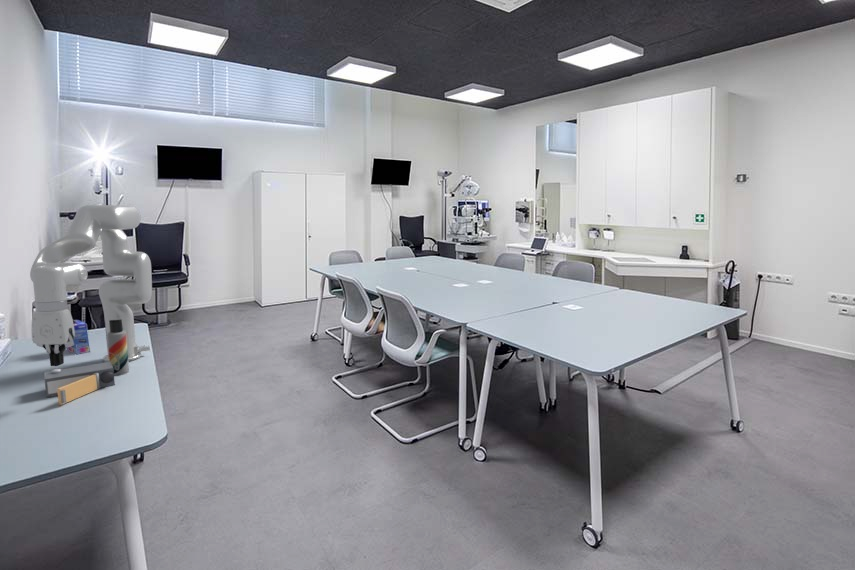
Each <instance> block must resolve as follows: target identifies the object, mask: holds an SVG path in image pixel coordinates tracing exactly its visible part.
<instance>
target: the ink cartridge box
mask: <svg viewBox="0 0 855 570" xmlns="http://www.w3.org/2000/svg"><path fill="white" fill-rule="evenodd" d="M72 320H73V324H74V331H75V339H74V340H73V342H74V346H71V347H67V348H66V350H67V351H68V352H70V353H72V354H74V355H75V354H76V355H81V354H85V352H86V353H89V352H91V347H90V346H91V345H90V340H89V339H90V338H89V333H88V324H87V323H86V322H84V321H81V320H79V319H73V318H72ZM80 353H81V354H80Z"/></svg>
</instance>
